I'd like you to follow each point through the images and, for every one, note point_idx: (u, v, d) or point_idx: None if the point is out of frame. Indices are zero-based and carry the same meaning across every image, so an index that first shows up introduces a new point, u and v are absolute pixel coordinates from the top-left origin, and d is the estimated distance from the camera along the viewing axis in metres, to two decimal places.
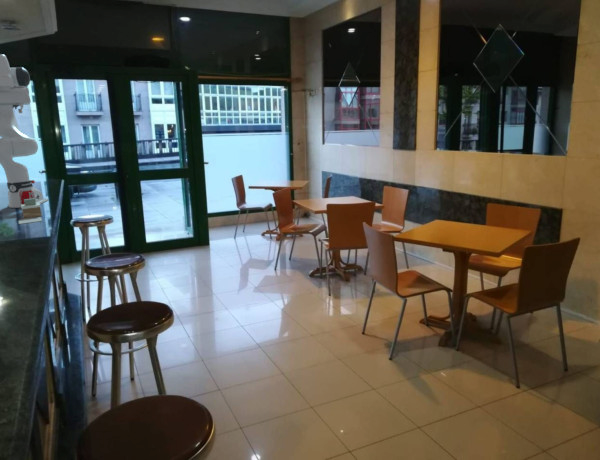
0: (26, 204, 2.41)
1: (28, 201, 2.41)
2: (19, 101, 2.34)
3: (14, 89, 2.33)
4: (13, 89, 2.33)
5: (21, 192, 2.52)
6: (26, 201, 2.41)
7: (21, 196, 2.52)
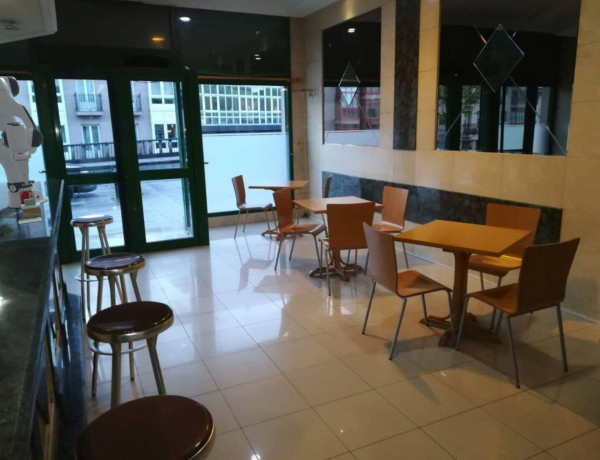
0: (26, 204, 2.41)
1: (28, 201, 2.41)
2: None
3: None
4: None
5: (21, 192, 2.52)
6: (26, 201, 2.41)
7: (21, 196, 2.52)
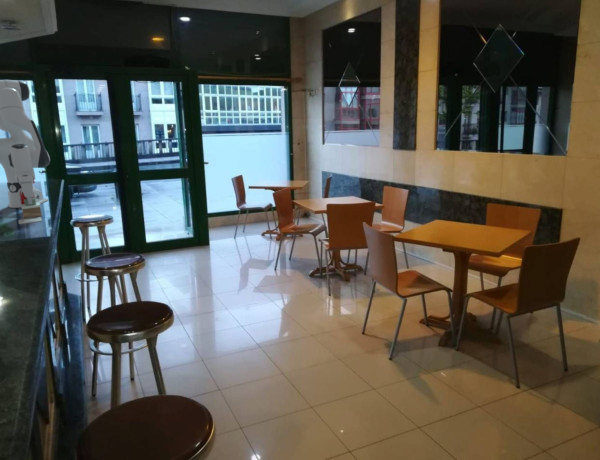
0: (26, 204, 2.41)
1: None
2: None
3: None
4: None
5: (21, 192, 2.52)
6: (26, 201, 2.41)
7: (21, 196, 2.52)
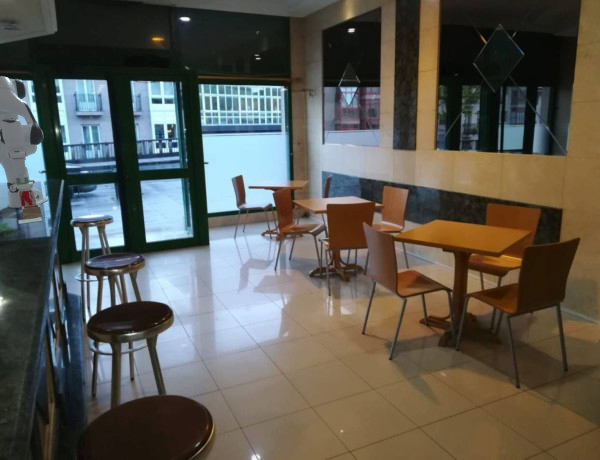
0: (18, 183, 2.27)
1: None
2: None
3: None
4: None
5: (21, 192, 2.52)
6: (18, 179, 2.27)
7: (21, 196, 2.52)
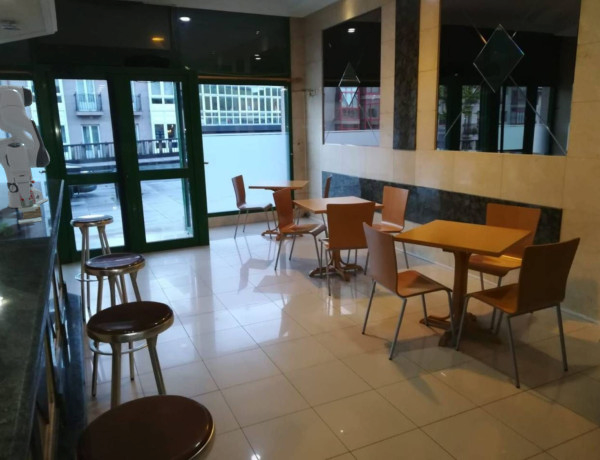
0: (23, 206, 2.30)
1: None
2: None
3: None
4: None
5: None
6: (23, 202, 2.30)
7: None
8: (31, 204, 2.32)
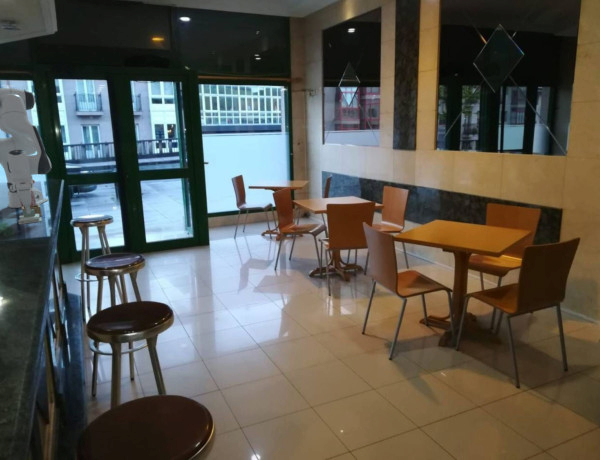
0: (25, 216, 2.32)
1: None
2: None
3: None
4: None
5: None
6: (25, 212, 2.31)
7: None
8: (33, 214, 2.33)
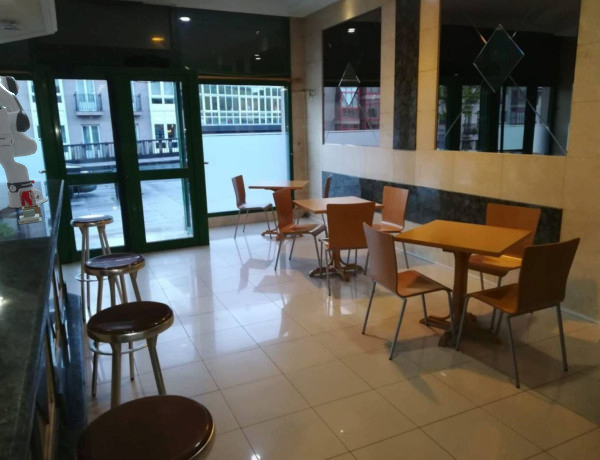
0: (25, 216, 2.32)
1: (27, 212, 2.32)
2: None
3: None
4: None
5: (21, 192, 2.52)
6: (25, 212, 2.31)
7: (21, 196, 2.52)
8: (33, 214, 2.33)
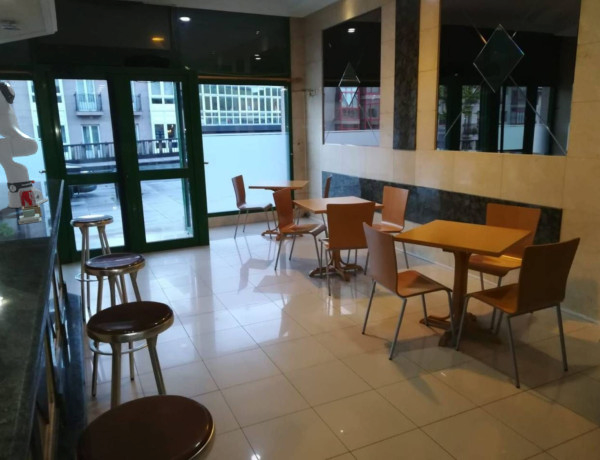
0: (25, 216, 2.32)
1: (27, 212, 2.32)
2: None
3: None
4: None
5: (21, 192, 2.52)
6: (25, 212, 2.31)
7: (21, 196, 2.52)
8: (33, 214, 2.33)
